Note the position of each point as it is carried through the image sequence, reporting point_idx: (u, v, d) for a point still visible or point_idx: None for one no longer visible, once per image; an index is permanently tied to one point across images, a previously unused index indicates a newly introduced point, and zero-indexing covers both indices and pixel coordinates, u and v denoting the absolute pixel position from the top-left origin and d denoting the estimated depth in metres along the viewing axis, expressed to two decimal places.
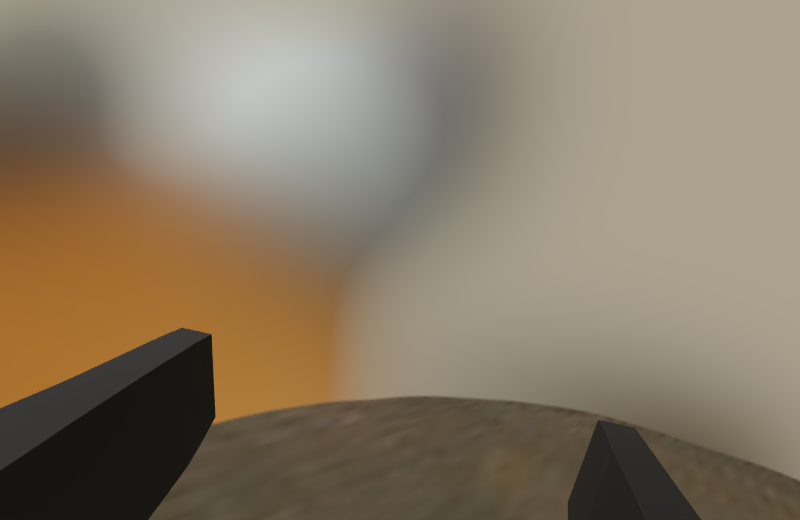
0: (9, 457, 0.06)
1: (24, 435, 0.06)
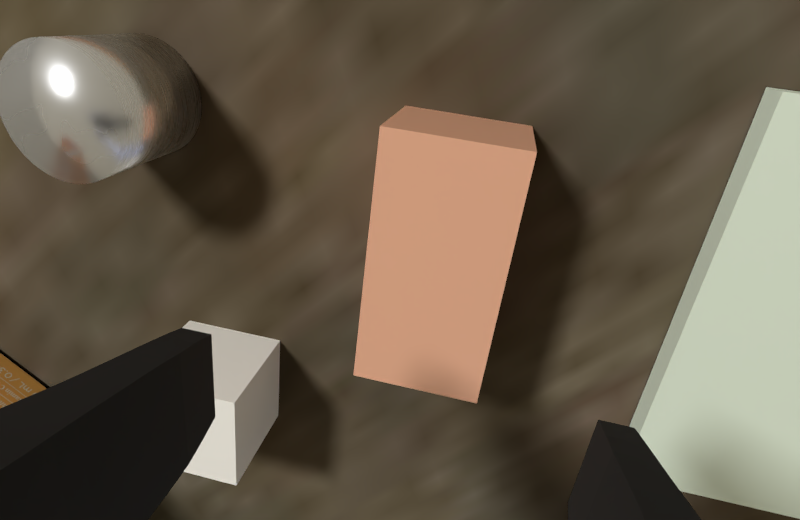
0: (9, 457, 0.06)
1: (25, 435, 0.06)
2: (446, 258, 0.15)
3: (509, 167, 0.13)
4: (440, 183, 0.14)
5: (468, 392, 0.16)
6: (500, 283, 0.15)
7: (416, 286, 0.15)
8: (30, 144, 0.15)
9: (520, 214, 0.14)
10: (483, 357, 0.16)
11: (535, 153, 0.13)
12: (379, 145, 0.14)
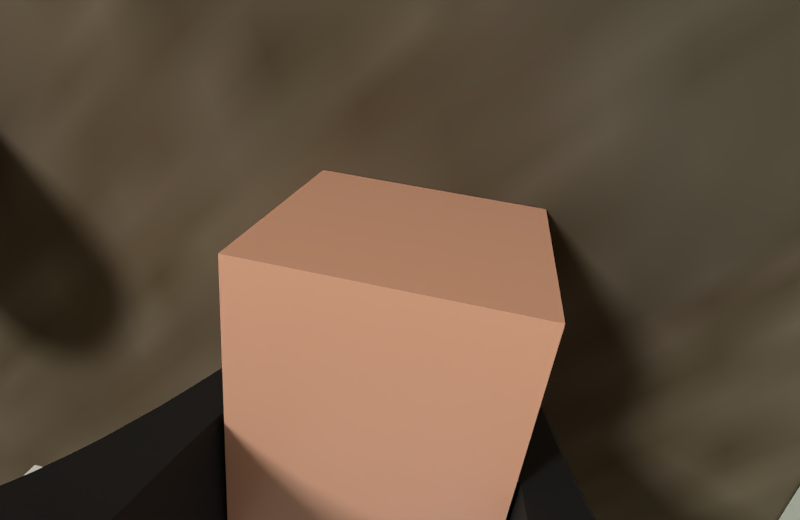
0: (129, 488, 0.06)
1: (139, 464, 0.06)
2: (377, 499, 0.07)
3: (502, 349, 0.06)
4: (355, 370, 0.06)
5: None
6: None
7: None
8: None
9: (526, 438, 0.06)
10: None
11: (561, 326, 0.06)
12: (222, 290, 0.06)
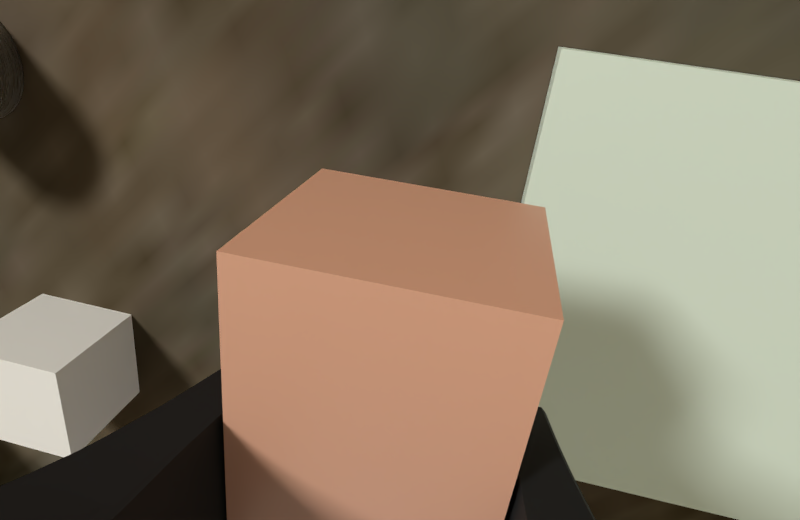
0: (128, 490, 0.06)
1: (139, 464, 0.06)
2: (377, 497, 0.07)
3: (501, 347, 0.06)
4: (355, 367, 0.06)
5: None
6: None
7: None
8: None
9: (525, 436, 0.06)
10: None
11: (560, 323, 0.06)
12: (221, 288, 0.06)
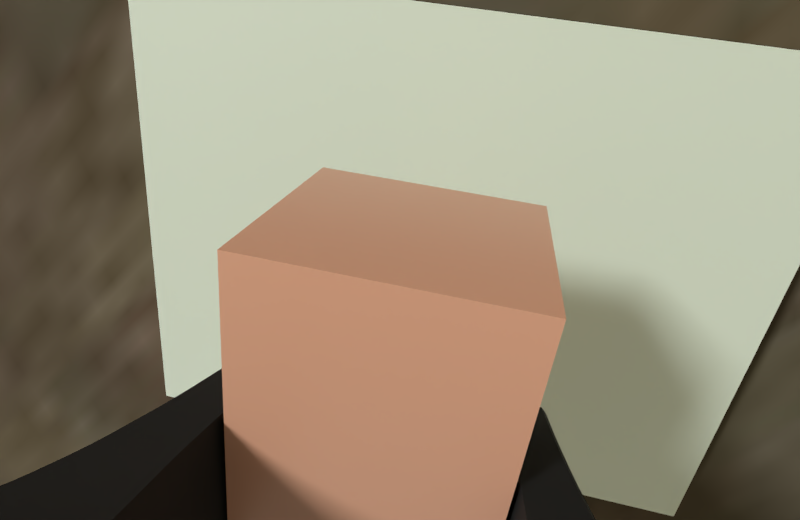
0: (129, 488, 0.06)
1: (139, 465, 0.06)
2: (378, 495, 0.07)
3: (504, 345, 0.06)
4: (356, 365, 0.06)
5: None
6: None
7: None
8: None
9: (528, 435, 0.06)
10: None
11: (562, 321, 0.06)
12: (222, 287, 0.06)
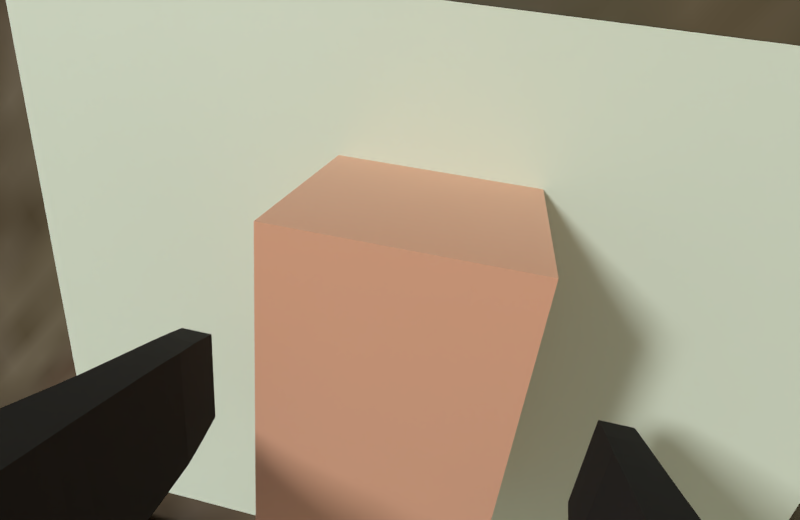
0: (9, 457, 0.06)
1: (25, 435, 0.06)
2: (392, 445, 0.08)
3: (504, 302, 0.07)
4: (374, 324, 0.07)
5: None
6: (490, 490, 0.08)
7: (344, 481, 0.09)
8: None
9: (525, 384, 0.07)
10: None
11: (555, 280, 0.07)
12: (256, 255, 0.07)
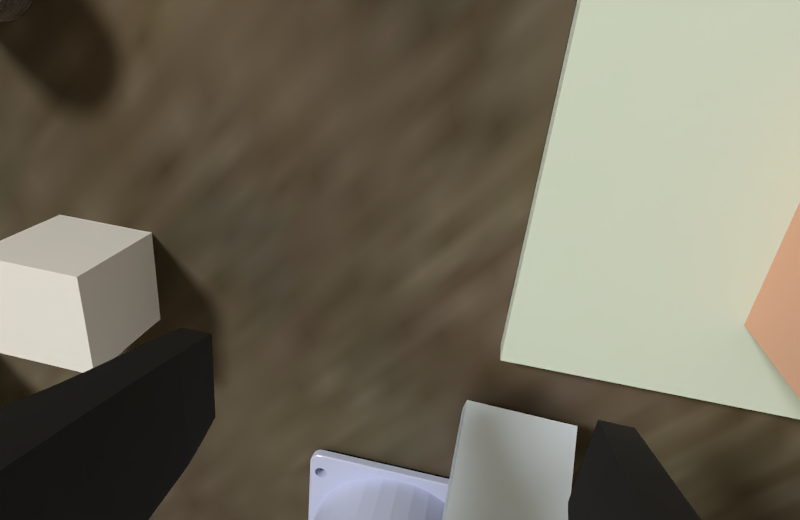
0: (10, 457, 0.06)
1: (24, 435, 0.06)
2: None
3: None
4: None
5: None
6: None
7: None
8: None
9: None
10: None
11: None
12: None
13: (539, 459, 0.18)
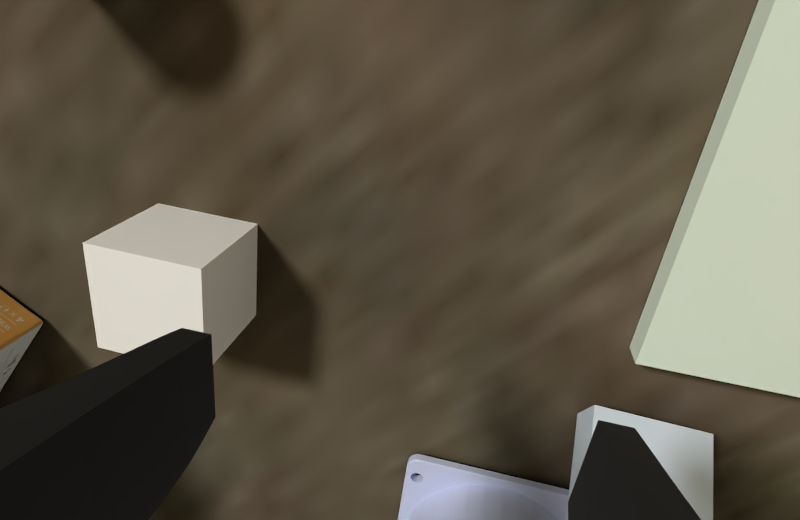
0: (9, 458, 0.06)
1: (24, 434, 0.06)
2: None
3: None
4: None
5: None
6: None
7: None
8: None
9: None
10: None
11: None
12: None
13: (676, 468, 0.17)
